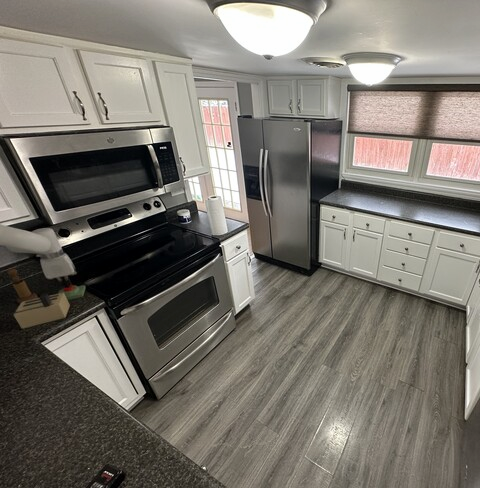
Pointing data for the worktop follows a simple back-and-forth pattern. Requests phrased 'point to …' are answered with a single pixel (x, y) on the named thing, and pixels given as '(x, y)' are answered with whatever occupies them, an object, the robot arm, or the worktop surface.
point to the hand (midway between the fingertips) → (67, 286)
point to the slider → (45, 300)
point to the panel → (74, 292)
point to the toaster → (41, 311)
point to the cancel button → (68, 288)
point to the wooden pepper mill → (21, 287)
